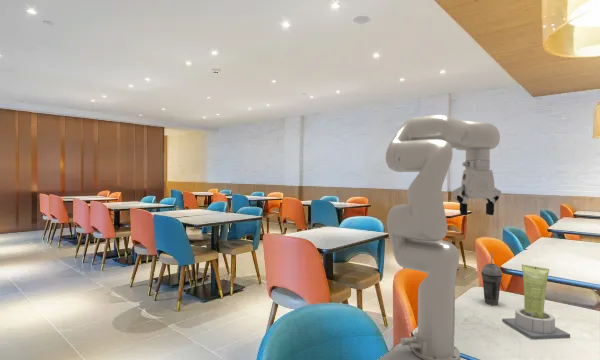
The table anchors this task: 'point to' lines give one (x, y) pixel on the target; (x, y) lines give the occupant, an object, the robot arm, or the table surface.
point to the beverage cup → (491, 283)
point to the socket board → (534, 334)
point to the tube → (534, 290)
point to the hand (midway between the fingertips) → (476, 214)
